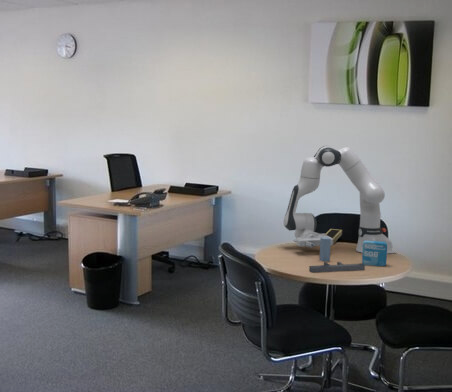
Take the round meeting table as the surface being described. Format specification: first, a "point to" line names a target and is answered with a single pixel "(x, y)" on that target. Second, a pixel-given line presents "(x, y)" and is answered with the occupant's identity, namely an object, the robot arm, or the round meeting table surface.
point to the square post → (325, 249)
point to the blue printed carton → (374, 253)
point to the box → (334, 234)
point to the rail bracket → (336, 267)
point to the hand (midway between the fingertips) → (319, 244)
